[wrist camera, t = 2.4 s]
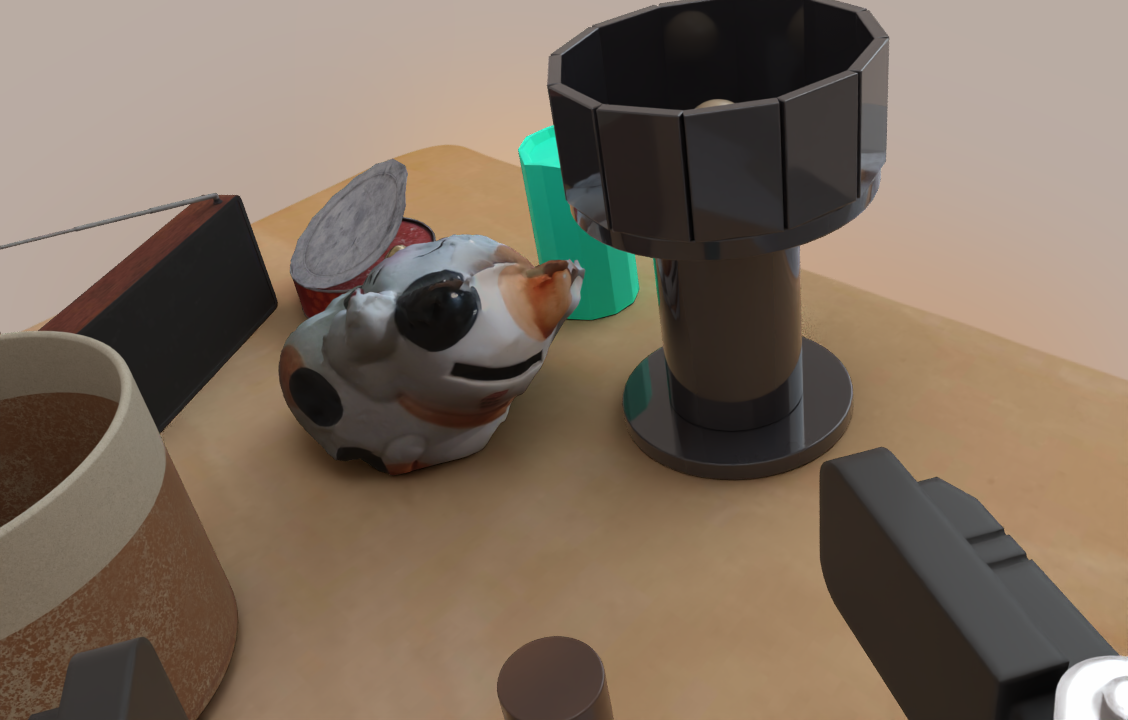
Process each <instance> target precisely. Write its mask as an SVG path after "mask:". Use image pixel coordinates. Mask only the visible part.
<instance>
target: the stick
mask: <svg viewBox="0 0 1128 720" xmlns="http://www.w3.org/2000/svg"><path fill="white" fill-rule="evenodd" d="M497 693H498V698H499V701H500V705H501V708H502V712H503V715H504V719H505V720H614V717H613V712H612V707H611V702H610V696H609V691H608V686H607V681H606V676H605V671H604V667H603V663H602V661H601V659H600V657H599V656H598V654H597V653H596V652H595V651H594V650H593V649H592V648H591V647H590V646H588V645H587V644H585V643H583V642H581V641H579V640H577V639H573V638H569V637H562V636H552V637H545V638H541V639H537V640H534V641H532V642H530V643H527V644H525V645H524V646H522V647H521V648H519V649H518V650H517V651H515V652H514V653H513V654H512V655H511V656H510V657H509V658H508V659H507V661H506V662H505V664H504V665H503V667H502V669H501V671H500V674H499V677H498V682H497Z"/></svg>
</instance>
